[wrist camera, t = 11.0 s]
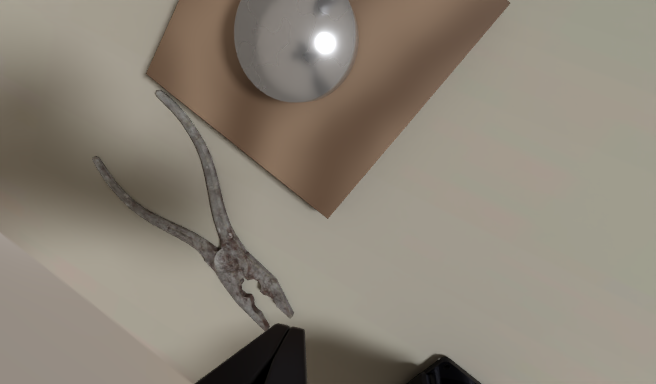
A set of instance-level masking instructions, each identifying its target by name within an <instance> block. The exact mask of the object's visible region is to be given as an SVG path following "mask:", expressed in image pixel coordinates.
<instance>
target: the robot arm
mask: <svg viewBox="0 0 656 384" xmlns="http://www.w3.org/2000/svg"><path fill="white" fill-rule="evenodd" d="M445 364H447V366H445ZM195 384H307V368H306V345H305V330H304V329H301V328H297V327H291V328H290V327H289V326H288V325H284V324H279V323H277V324H275V325H273V326H272V327H271V328H269V329H268V330H267V331H265V332H264V333H263V334H261V335H260V336H259V337H257V338H256V339H255V340H253V341H252V342H250V343H249V344H248V345H246V346H245V347H244V348H242V349H241V350H240V351H238V352H237V353H236V354H234V355H233V356H232V357H230V358H229V359H227V360H226V361H225V362H223V363H222V364H221V365H219V366H218V367H217V368H215V369H214V370H213V371H211V372H210V373H208V374H207V375H206V376H204V377H203V378H202V379H200V380H199V381H198V382H196V383H195ZM407 384H481V383H480V382H478V381H477V380H476V379H475V378H473V377H472V376H471V375H470V374H468V373H467V372H466V371H465V370H463V369H462V368H461V367H460V366H458V365H457V364H456V363H455V362H453V361H452V360H451V359H449V358H446V357H444V358H441V359H439V360H438V361H437V362H435V363H434V364H433V365H431V366H430V367H429V368H427V369H426V370H425V371H423V372H422V373H420V374H419V375H418V376H416V377H415V378H414V379H412V380H411V381H410V382H408V383H407Z"/></svg>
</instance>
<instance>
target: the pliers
mask: <svg viewBox="0 0 656 384" xmlns="http://www.w3.org/2000/svg"><path fill="white" fill-rule="evenodd" d="M156 96H157V97H158V98H159V99H160V100H161V101H162V102H163V103H164V104H165V105H166V106H167V107H168V108H169V109H170V110H171V111H172V112H173V113H174V115H175V116H176V117H177V118H178V119H179V121H180V122H181V123H182V125H183V126H184V128H185V129H186V131H187V132H188V134H189V135H190V137H191V139H192V141H193V143H194V145H195V146H196V149H197V151H198V154H199V156H200V159H201V162H202V166H203V170H204V174H205V179H206V183H207V188H208V194H209V199H210V206H211V210H212V215H213V219H214V222H215V225H216V228H217V231H218V234H219V237H220V240H221V247H222V249H218V248H216V247H215V246H214V245H213V244H211V243H210V242H208V241H207V240H206V239H204V238H202V237H201V236H199V235H198V234H196V233H194V232H192V231H190V230H188V229H186V228H184V227H182V226H180V225H177V224H175V223H173V222H171V221H169V220H166V219H164V218H162V217H160V216H158V215H156V214H154V213H152V212H150V211H149V210H147V209H145V208H144V207H142V206H141V205H139V204H138V203H137V202H135V201H134V200H133V199H132V198H131V197H130V196H129V195H128V194H127V193H126V192H125V191H124V190H123V189H122V188H121V187H120V186H119V185H118V184H117V183H116V181H115V180H114V179H113V177H112V176H111V175H110V173H109V172H108V170H107V169H106V167H105V165H104V164H103V162H102V161H101V159H100V158H99V157H97V156H95V157H93V159H92V160H93V162H94V164H95V166H96V168H97V169H98V171H99V172H100V174H101V176H102V177H103V179H104V180H105V181H106V183H107V184H108V185H109V187H110V188H111V189H112V190H113V191H114V193H115V194H116V195H117V196H118V197H119V198H120V199H121V200H122V201H123V202H124V203H125V204H126V205H127V206H128V207H129V208H130V209H131V210H133V211H134V212H135V213H136V214H138V215H139V216H140V217H142V218H143V219H145V220H147V221H148V222H150V223H152V224H153V225H155V226H157V227H159V228H161V229H163V230H164V231H166V232H168V233H170V234H172V235H174V236H175V237H177V238H179V239H181V240H183V241H184V242H186V243H188V244H189V245H191V246H192V247H194V248H195V249H196V250H198V251H199V253H200V254H201V255H202V256H203V257H204V261H205V262H206V263H207V264H208V265H209V266H210V267H211V268H212V269H213V270H214V271H215V272H216V274H217V276H218V277H219V279H220V281H221V282H222V284H223V285H224V287H225V288H226V289H227V291H228V292H229V293H230V295H231V296H232V297H233V299H234V300H235V301H236V303H237V304H238V305H239V306H240V307H241V308H242V309H243V310H244V311H245V312H246V313H247V314H248V315H249V316H250V317H251V318H252V319H253V320H254V321H255V322H256V323H257V324H258V325H259V326H260V327H261V328H262V329H263V330H264V331H267V330H268V329H269V327H270V326H269V324H268V322H267V320H266V319H265V317H264V315H263V313H262V311H260V310H259V309H258V308H257V307H256V306H255V303H254V297H253V295H252V294H247V293H245V292H244V291H243V290H242V286H241V284H242V283H243V282H244V279H243V278H244V277H245V278H246V279H247V280H250V279H255V280H257V281H259V283H260V285H261V290H260V292H261V293H262V294H264V295H267V296H268V297H269V296H270V297H271V298H272V299H273V300H274V302H275V304H276V306H277V307H278V308H279V309H280V310H281V311H282V312H283V313H284V314H286V315H287V316H288V317H289V318H291V317H292V316H293V314H294V312H293V310H292V308H291V306H290V304H289V302H288V300H287V298H286V296H285V294H284V292H283V290H282V288H281V287H280V285H279V283H278V281H277V279H276V278H275V277H274V276H273V275H272V274H271V273H270V272H269V271H268V270H267V269H266V268H265V267H264V266H263V265H262V264H261V263H260V262H258V261H257V260H256V259H255V258H254V257H253V256H252V255H251V254H250V253H249V252H247V250H246V249H245V247H244V246H243V244H242V243H241V241H240V240H239V238H238V237H237V235H236V234H235V232H234V230H233V228H232V227H231V225H230V222H229V219H228V216H227V213H226V210H225V206H224V203H223V199H222V194H221V190H220V186H219V182H218V178H217V174H216V170H215V167H214V164H213V161H212V157H211V155H210V153H209V150H208V148H207V146H206V144H205V142H204V140H203V139H202V137H201V135H200V134H199V132H198V130H197V129H196V127H195V126H194V124H193V123H192V122H191V120H190V119H189V117H188V116H187V115H186V114H185V113H184V111H183V110H182V109H181V108H180V107H179V106H178V105H177V104H176V103H175V102H174V101H173V100H172V99H171V98H170V97H169V96H168V95H167V94H165V93H164V92H163V91H162V90H157V91H156Z"/></svg>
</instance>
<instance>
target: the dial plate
mask: <svg viewBox="0 0 656 384" xmlns="http://www.w3.org/2000/svg"><path fill="white" fill-rule="evenodd" d="M240 1H241V0H179V2H178V4H177V6H176V8H175V11H174V13H173V15H172V17H171V19H170V22H169V24H168V26H167V28H166V31H165V33H164V35H163V37H162V39H161V42H160V44H159V46H158V48H157V50H156V53H155V55H154V57H153V59H152V62H151V64H150V66H149V68H148V70H147V73H146V74H147V75H148V76H150V77H151V78H152V79H153V80H155V81H156V82H157V83H158V84H160V85H161V86H162V87H163V88H165V89H166V90H167V91H168V92H170V93H171V94H172V95H173V96H175V97H176V98H177V99H178V100H180V101H181V102H182V103H183V104H185V105H186V106H187V107H188V108H190V109H191V110H192V111H193V112H195V113H196V114H197V115H198V116H200V117H201V118H202V119H203V120H205V121H206V122H207V123H208V124H210V125H211V126H212V127H213V128H215V129H216V130H217V131H218V132H220V133H221V134H222V135H223V136H225V137H226V138H227V139H228V140H230V141H231V142H232V143H233V144H235V145H236V146H237V147H238V148H240V149H241V150H242V151H243V152H245V153H246V154H247V155H248V156H250V157H251V158H252V159H253V160H255V161H256V162H257V163H258V164H260V165H261V166H262V167H263V168H265V169H266V170H267V171H268V172H270V173H271V174H272V175H273V176H275V177H276V178H277V179H278V180H280V181H281V182H282V183H283V184H285V185H286V186H287V187H288V188H290V189H291V190H292V191H294V192H295V193H296V194H297V195H299V196H300V197H301V198H302V199H304V200H305V201H306V202H307V203H309V204H310V205H311V206H312V207H314V208H315V209H316V210H317V211H319V212H320V213H321V214H322V215H324V216H325V217H326V218H327V219H328V218H329V217H330V215H331V214H332V213H333V212H334V211H335V210H336V208H337V207H338V206H339V205H340V204H341V203H342V201H343V200H344V199H345V198H346V197H347V195H348V194H349V193H350V192H351V191H352V190H353V188H354V187H355V186H356V185H357V184H358V182H359V181H360V180H361V179H362V178H363V177H364V175H365V174H366V173H367V172H368V171H369V169H370V168H371V167H372V166H373V165H374V164H375V162H376V161H377V160H378V159H379V158H380V156H381V155H382V154H383V153H384V152H385V151H386V149H387V148H388V147H389V146H390V145H391V143H392V142H393V141H394V140H395V139H396V138H397V136H398V135H399V134H400V133H401V132H402V131H403V129H404V128H405V127H406V126H407V125H408V123H409V122H410V121H411V120H412V119H413V118H414V116H415V115H416V114H417V113H418V112H419V110H420V109H421V108H422V107H423V106H424V105H425V103H426V102H427V101H428V100H429V99H430V97H431V96H432V95H433V94H434V93H435V92H436V90H437V89H438V88H439V87H440V86H441V84H442V83H443V82H444V81H445V80H446V79H447V77H448V76H449V75H450V74H451V73H452V71H453V70H454V69H455V68H456V67H457V66H458V64H459V63H460V62H461V61H462V60H463V59H464V57H465V56H466V55H467V54H468V53H469V51H470V50H471V49H472V48H473V47H474V46H475V44H476V43H477V42H478V41H479V40H480V38H481V37H482V36H483V35H484V34H485V33H486V31H487V30H488V29H489V28H490V27H491V25H492V24H493V23H494V22H495V21H496V20H497V18H498V17H499V16H500V15H501V14H502V12H503V11H504V10H505V9H506V8H507V7H508V5H509V4H510V2H509V1H507V0H348V1H349V3H350V5H351V7H352V9H353V12H354V14H355V18H356V21H357V26H358V35H359V42H358V51H357V56H356V59H355V62H354V65H353V67H352V70H351V72H350V73H349V75H348V77H347V78H346V79H345V81H344V82H343V83H342V84H341V85H340V86H339V87H338V88H337V89H336V90H335V91H334V92H332V93H331V94H329V95H328V96H326V97H324V98H321V99H319V100H316V101H312V102H285V101H280V100H277V99H274V98H272V97H270V96H268V95H266V94H265V93H263V92H262V91H260V90H259V89H258V88H257V87H256V86H255V85H254V84H253V83H252V82H251V81H250V80H249V78H248V77H247V75H246V74H245V72H244V70H243V68H242V67H241V64H240V62H239V59H238V56H237V53H236V49H235V42H234V23H235V17H236V13H237V9H238V6H239V4H240Z"/></svg>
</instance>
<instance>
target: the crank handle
mask: <svg viewBox="0 0 656 384" xmlns="http://www.w3.org/2000/svg"><path fill="white" fill-rule="evenodd" d="M234 42H235V49H236V53H237V56H238V59H239V62H240V64H241V67H242V68H243V70H244V72H245V74H246V75H247V77H248V78H249V80H250V81H251V82H252V83H253V84H254V85H255V86H256V87H257V88H258V89H259V90H260V91H262V92H263V93H265V94H266V95H268V96H270V97H272V98H274V99H277V100H280V101H285V102H312V101H316V100H319V99H321V98H324V97H326V96H328V95H329V94H331V93H332V92H334V91H335V90H336V89H337V88H338V87H339V86H340V85H341V84H342V83H343V82H344V81H345V79H346V78H347V77H348V75H349V73H350V72H351V70H352V67H353V65H354V62H355V59H356V56H357V51H358V42H359V35H358V26H357V21H356V18H355V14H354V12H353V9H352V7H351V5H350V3H349V1H348V0H241V1H240V4H239V6H238V9H237V13H236V17H235V23H234Z"/></svg>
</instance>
